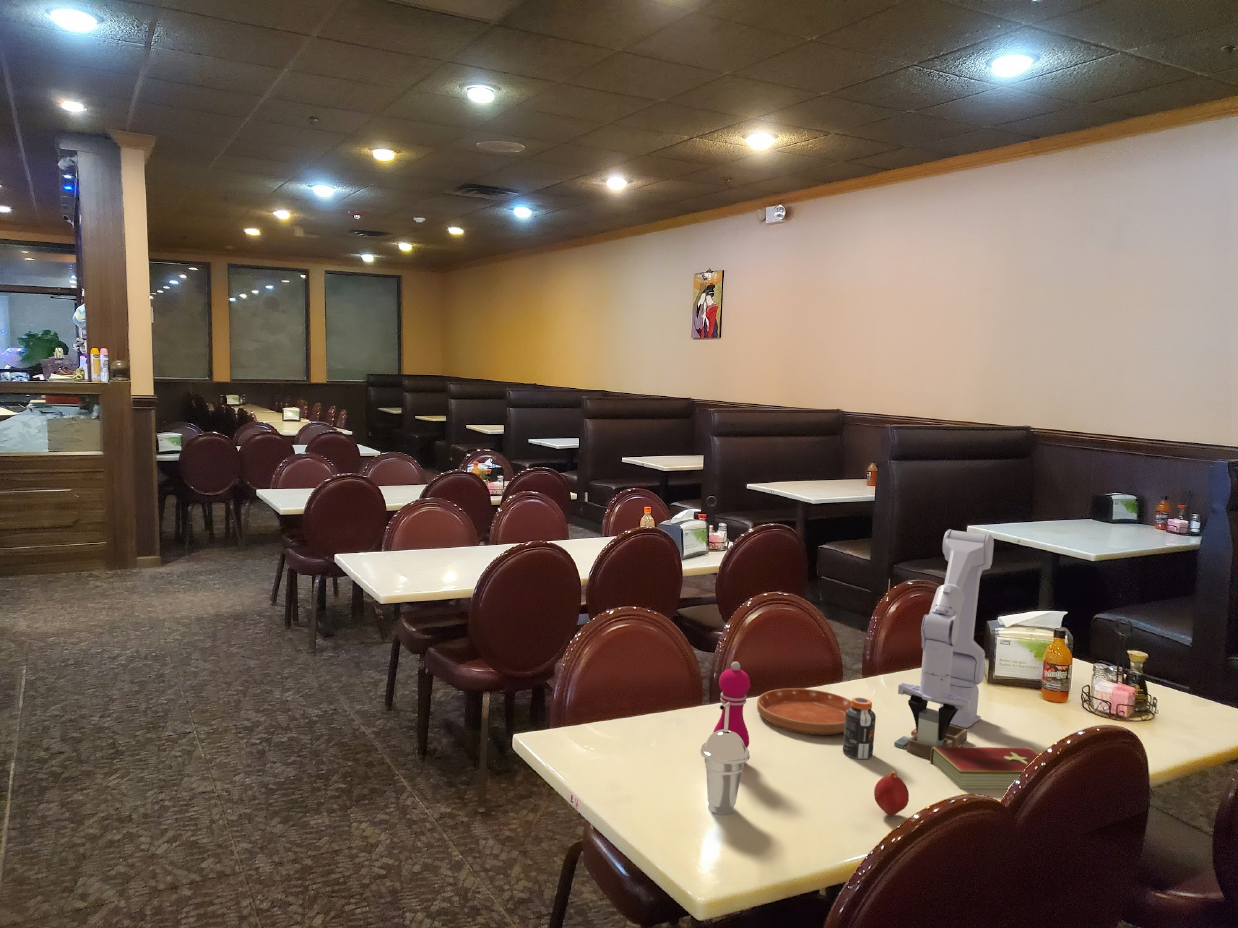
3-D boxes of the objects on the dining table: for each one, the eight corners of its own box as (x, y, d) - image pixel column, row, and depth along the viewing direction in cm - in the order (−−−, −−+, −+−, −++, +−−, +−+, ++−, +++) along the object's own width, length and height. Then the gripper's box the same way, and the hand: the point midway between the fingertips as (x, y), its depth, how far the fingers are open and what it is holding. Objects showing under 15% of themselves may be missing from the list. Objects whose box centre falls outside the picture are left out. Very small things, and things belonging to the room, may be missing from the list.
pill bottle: (873, 761, 179) (878, 706, 178) (843, 757, 181) (847, 702, 180) (871, 750, 185) (875, 696, 184) (841, 746, 186) (846, 693, 185)
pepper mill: (750, 757, 178) (757, 659, 176) (743, 772, 171) (750, 669, 169) (715, 751, 180) (721, 653, 178) (706, 764, 173) (713, 663, 172)
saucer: (758, 734, 191) (759, 717, 191) (754, 698, 214) (755, 683, 213) (868, 745, 188) (869, 728, 188) (852, 707, 211) (853, 692, 211)
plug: (923, 739, 189) (926, 707, 188) (942, 745, 186) (945, 712, 185) (916, 745, 186) (919, 712, 185) (935, 750, 183) (938, 717, 182)
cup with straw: (755, 810, 156) (763, 698, 154) (723, 826, 149) (730, 709, 148) (717, 792, 162) (725, 684, 160) (684, 807, 155) (691, 694, 154)
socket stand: (921, 727, 200) (922, 716, 199) (966, 740, 193) (967, 729, 193) (892, 746, 188) (893, 735, 187) (939, 761, 181) (940, 749, 181)
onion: (867, 806, 159) (871, 763, 159) (899, 807, 160) (902, 764, 159) (879, 822, 153) (883, 777, 153) (912, 823, 154) (916, 778, 153)
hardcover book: (929, 764, 181) (931, 744, 180) (1027, 765, 183) (1029, 745, 183) (958, 791, 169) (960, 769, 168) (1063, 791, 171) (1065, 770, 171)
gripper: (894, 667, 186) (889, 730, 187) (964, 685, 177) (958, 751, 178) (907, 660, 192) (902, 722, 193) (977, 677, 182) (971, 742, 183)
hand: (930, 735), depth 186 cm, fingers closed on plug, 4 cm apart
